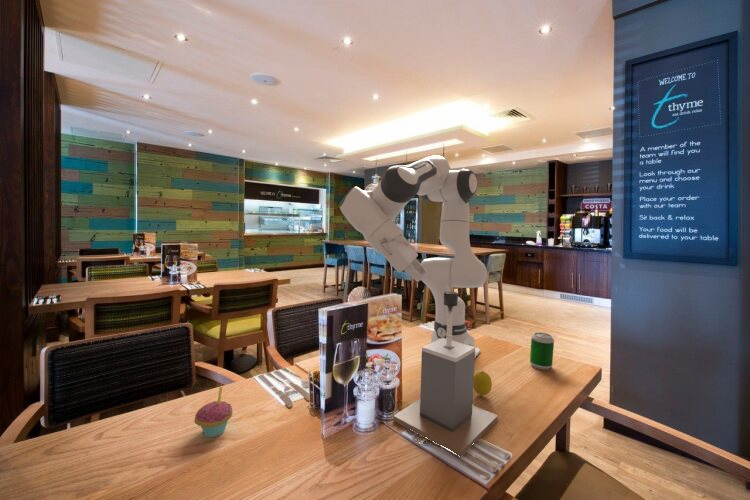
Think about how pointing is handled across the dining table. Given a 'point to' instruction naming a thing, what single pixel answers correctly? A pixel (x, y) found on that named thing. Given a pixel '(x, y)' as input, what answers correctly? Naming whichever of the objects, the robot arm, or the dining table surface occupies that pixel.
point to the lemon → (482, 383)
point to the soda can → (541, 351)
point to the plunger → (450, 314)
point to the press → (447, 399)
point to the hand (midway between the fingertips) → (422, 276)
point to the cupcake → (214, 416)
